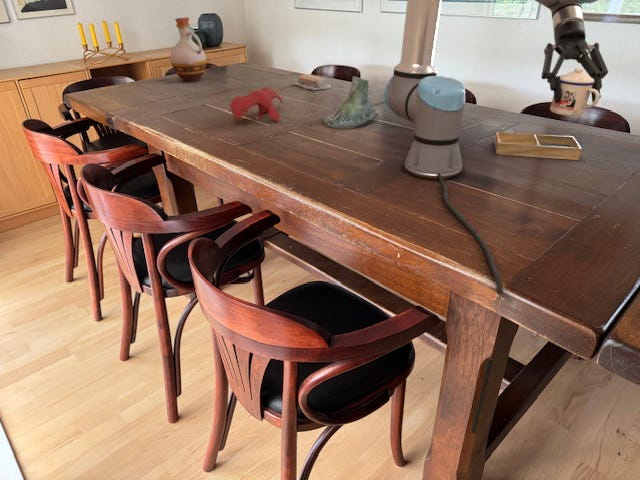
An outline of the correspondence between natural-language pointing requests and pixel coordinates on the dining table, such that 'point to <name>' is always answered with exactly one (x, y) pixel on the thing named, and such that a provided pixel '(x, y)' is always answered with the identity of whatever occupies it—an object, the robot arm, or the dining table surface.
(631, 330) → the dining table surface
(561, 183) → the dining table surface
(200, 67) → the jug
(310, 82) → the packaged product
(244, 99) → the red animal figurine
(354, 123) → the tree stump
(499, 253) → the dining table surface
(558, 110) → the teacup with lid
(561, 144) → the organizer
